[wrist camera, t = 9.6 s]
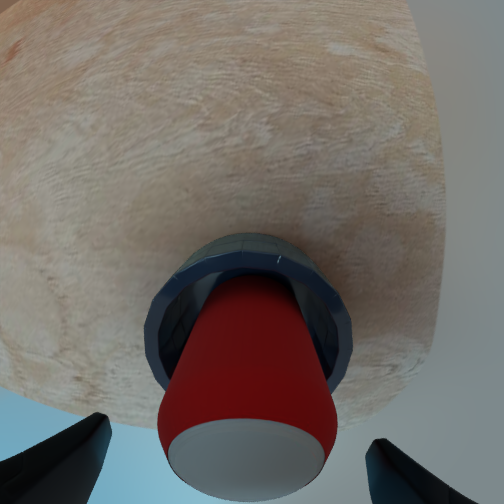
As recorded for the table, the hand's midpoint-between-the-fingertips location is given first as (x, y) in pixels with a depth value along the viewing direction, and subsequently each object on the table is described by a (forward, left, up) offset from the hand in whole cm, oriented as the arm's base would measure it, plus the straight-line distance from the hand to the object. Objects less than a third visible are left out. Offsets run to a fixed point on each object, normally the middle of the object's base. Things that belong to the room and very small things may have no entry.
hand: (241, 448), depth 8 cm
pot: (0, 0, -12) cm, 12 cm away
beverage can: (0, 0, -11) cm, 11 cm away
